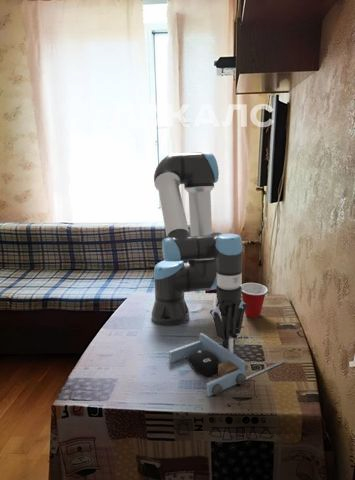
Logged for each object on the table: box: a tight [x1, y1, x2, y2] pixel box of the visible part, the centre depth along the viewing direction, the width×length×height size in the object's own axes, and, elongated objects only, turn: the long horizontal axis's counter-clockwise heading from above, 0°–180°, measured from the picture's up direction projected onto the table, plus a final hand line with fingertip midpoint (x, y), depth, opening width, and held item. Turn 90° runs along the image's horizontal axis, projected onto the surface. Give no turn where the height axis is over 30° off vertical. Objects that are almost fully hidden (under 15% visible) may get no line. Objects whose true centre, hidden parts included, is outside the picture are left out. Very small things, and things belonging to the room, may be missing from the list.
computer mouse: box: [187, 351, 219, 378], centre depth 114 cm, size 8×12×4 cm, turn 20°
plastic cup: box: [241, 282, 269, 319], centre depth 147 cm, size 11×11×12 cm
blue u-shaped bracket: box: [168, 332, 247, 397], centre depth 112 cm, size 23×13×6 cm, turn 32°
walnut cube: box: [217, 361, 238, 378], centre depth 108 cm, size 4×4×4 cm
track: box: [170, 334, 286, 397], centre depth 117 cm, size 21×30×1 cm
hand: (228, 355), depth 117 cm, fingers closed
